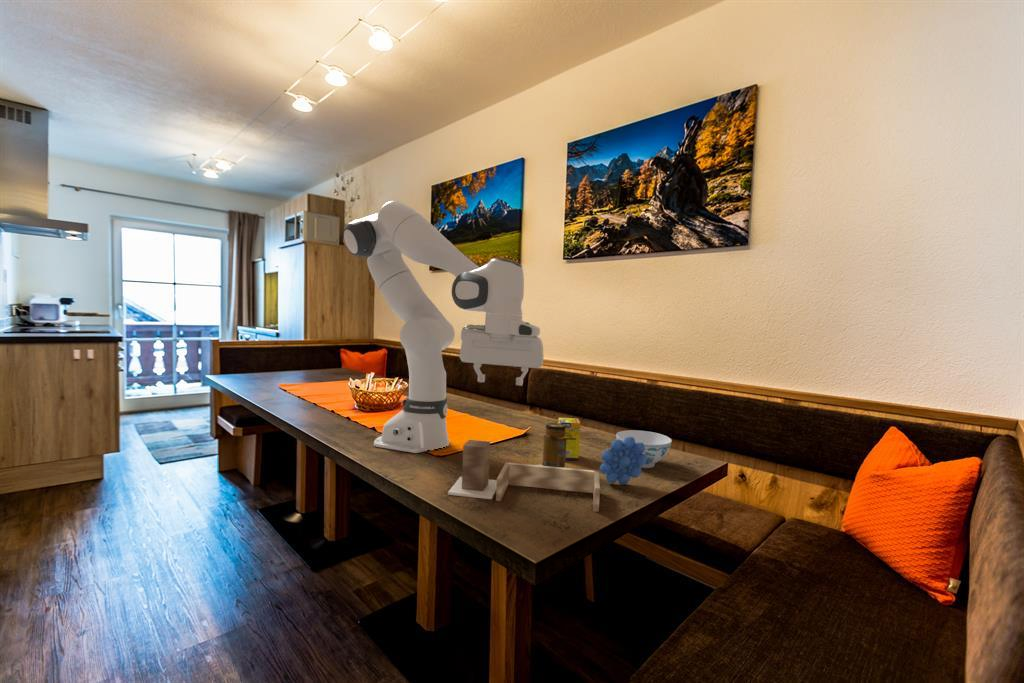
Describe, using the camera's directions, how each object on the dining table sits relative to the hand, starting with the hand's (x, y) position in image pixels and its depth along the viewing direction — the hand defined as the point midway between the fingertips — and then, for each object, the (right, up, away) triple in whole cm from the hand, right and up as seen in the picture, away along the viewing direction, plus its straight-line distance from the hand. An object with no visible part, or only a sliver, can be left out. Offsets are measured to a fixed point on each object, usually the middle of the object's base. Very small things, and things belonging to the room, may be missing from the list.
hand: (499, 383), depth 109 cm
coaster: (-6, -24, -5) cm, 25 cm away
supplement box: (+19, -24, +22) cm, 37 cm away
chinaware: (+40, -25, +18) cm, 50 cm away
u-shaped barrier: (+11, -25, -7) cm, 28 cm away
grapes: (+30, -25, +3) cm, 39 cm away
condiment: (+14, -24, +10) cm, 30 cm away
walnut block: (-6, -23, -5) cm, 24 cm away
